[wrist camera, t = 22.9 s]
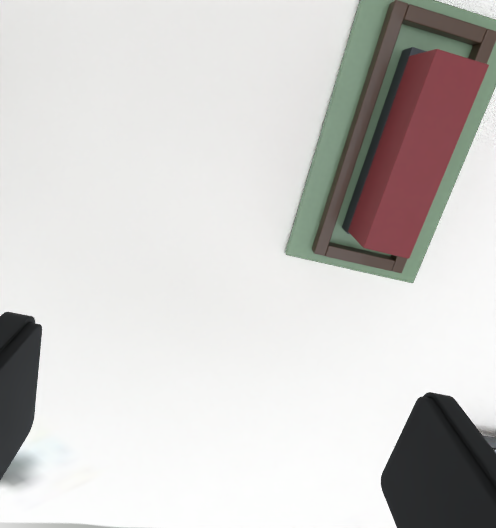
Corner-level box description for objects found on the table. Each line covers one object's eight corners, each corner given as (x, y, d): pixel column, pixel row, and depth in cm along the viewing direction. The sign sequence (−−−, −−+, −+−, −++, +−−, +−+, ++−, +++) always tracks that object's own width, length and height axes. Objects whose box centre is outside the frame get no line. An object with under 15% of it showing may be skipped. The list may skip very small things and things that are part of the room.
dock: (284, 252, 37) (287, 259, 35) (365, -19, 30) (373, -27, 28) (410, 280, 38) (419, 289, 37) (515, 28, 31) (531, 24, 30)
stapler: (402, 49, 31) (440, 37, 25) (446, 63, 31) (493, 54, 26) (341, 227, 36) (362, 250, 30) (380, 237, 36) (408, 261, 30)
